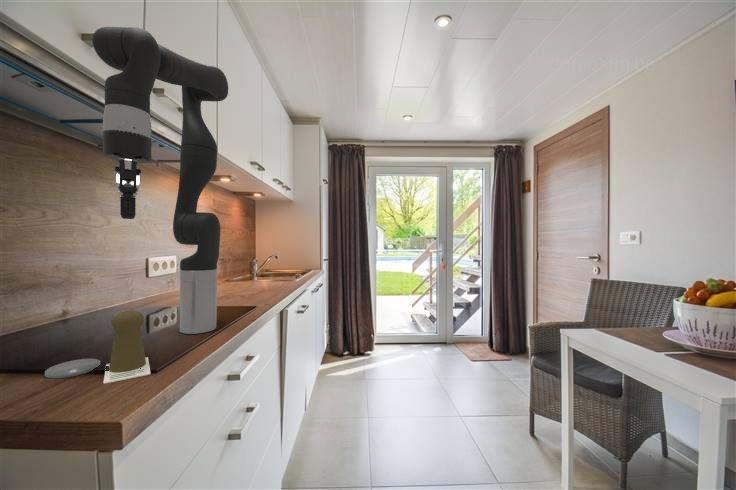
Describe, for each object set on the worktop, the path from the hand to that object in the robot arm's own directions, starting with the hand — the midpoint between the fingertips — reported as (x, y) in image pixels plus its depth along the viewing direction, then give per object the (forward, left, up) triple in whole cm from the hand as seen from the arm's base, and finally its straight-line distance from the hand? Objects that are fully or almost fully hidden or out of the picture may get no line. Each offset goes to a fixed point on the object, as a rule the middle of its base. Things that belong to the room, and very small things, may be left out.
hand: (128, 218), depth 62 cm
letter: (0, 0, -30) cm, 30 cm away
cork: (-1, 0, -30) cm, 30 cm away
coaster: (-6, -9, -30) cm, 32 cm away
